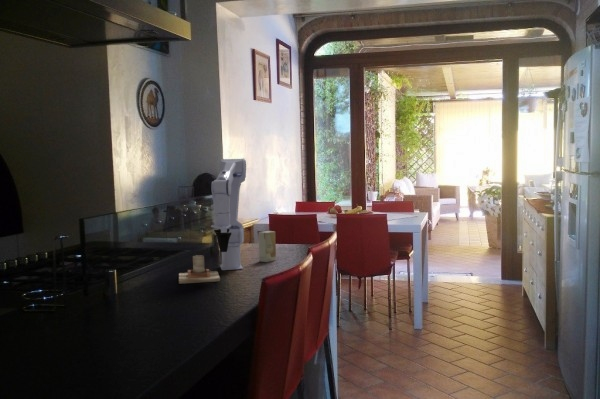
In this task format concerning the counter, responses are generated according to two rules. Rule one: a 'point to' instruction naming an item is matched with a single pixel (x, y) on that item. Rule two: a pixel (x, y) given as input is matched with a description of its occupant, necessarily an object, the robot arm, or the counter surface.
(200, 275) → the holder
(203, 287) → the counter surface
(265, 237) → the skincare box
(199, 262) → the sleeve
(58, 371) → the counter surface
